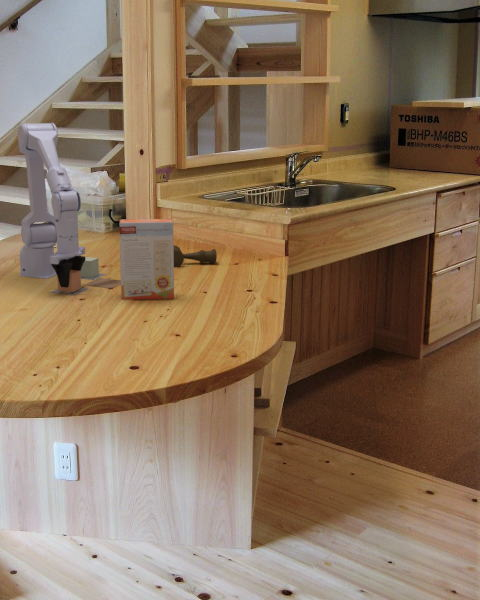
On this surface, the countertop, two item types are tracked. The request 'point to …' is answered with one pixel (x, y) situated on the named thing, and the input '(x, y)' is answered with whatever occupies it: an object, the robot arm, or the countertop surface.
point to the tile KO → (70, 292)
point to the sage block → (90, 267)
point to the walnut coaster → (104, 283)
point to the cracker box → (146, 259)
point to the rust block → (72, 282)
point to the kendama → (194, 256)
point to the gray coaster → (94, 277)
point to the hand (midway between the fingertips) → (69, 284)
